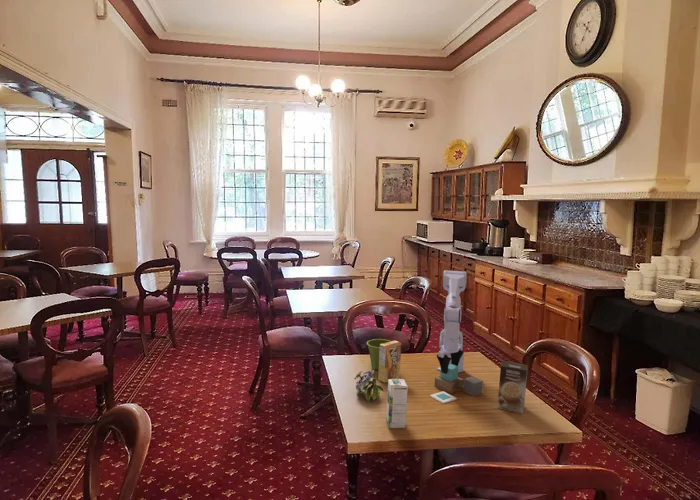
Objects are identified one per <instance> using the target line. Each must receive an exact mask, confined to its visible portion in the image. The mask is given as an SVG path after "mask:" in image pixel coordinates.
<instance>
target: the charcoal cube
mask: <svg viewBox="0 0 700 500" xmlns="http://www.w3.org/2000/svg"><path fill="white" fill-rule="evenodd" d="M483 383H484V381H483V380H482V379H480V378H477V377H475V376H470V377H467V378H463V388H462V389H463V392H464V393H466V394H469V395H471V396H472V397H474V396H477V395H480V394H482V393H483V385H484V384H483Z"/></svg>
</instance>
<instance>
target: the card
mask: <svg viewBox="0 0 700 500" xmlns="http://www.w3.org/2000/svg"><path fill="white" fill-rule="evenodd" d="M429 397H431V399H434V400H436V401H437V402H439V403H441V404H443V405H444V404H447V403H450V402H453V401H456V400H458V398H457V397H456V396H453V395H451V393H449V392H447V391H444V390H442V391H439V392H436V393H432V394H430V395H429Z"/></svg>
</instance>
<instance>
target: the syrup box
mask: <svg viewBox="0 0 700 500" xmlns="http://www.w3.org/2000/svg"><path fill="white" fill-rule="evenodd" d="M408 387H409V386H408V384H407V382H406V380H405V379H403V378H398V379H388V382H387V392H386V393H387V395H386V407H385V410H386V414H385V421H386V425H387V428H388V429H405V428H406V420H407V405H408V404H407V402H408V390H409V389H408Z"/></svg>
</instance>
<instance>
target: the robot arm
mask: <svg viewBox="0 0 700 500" xmlns="http://www.w3.org/2000/svg"><path fill="white" fill-rule="evenodd" d="M442 277H443V278H442V283H443V285H442V286H443V290H445V291H447V296H446V299H445V308H444V310H443V311H444V312H443V322H444V323H443V325H444V329H443V330H441V331H440V334H439V335H440V336H439V346H438V348H439V349H440V350H439V351H438V353H437V354H436V359H437V360H438V362H439V366H440V367H436V369H437V370H439V371H442V373H445V374H447V372H448V366H449V363H450V364H453V365H456V366H458V374H459V373H462V372H465V371H466V370H465V369H464V363H465V355H464V350H463V344H464V343H463V342H464V338H463V336H464V335H463V333H462V332H461V331H460V325H461V324H460V323H461V320H462V306H461V304H462V303H461V300H462V299H461V296H460V294H461V293H462V292H464V291H465V289H466V285H467V271H462V270H461V271H459V270H458V271H457V270H447V269H445V270H444V271H443V275H442Z"/></svg>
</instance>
